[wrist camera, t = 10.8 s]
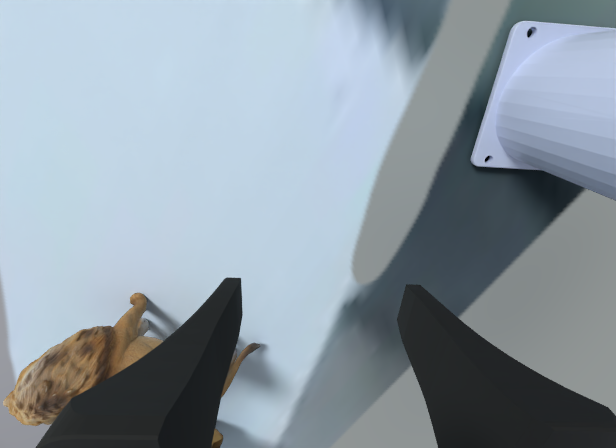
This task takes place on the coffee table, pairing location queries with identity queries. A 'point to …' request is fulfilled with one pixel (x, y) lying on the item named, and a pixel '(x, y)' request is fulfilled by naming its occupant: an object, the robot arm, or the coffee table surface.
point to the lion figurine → (87, 365)
